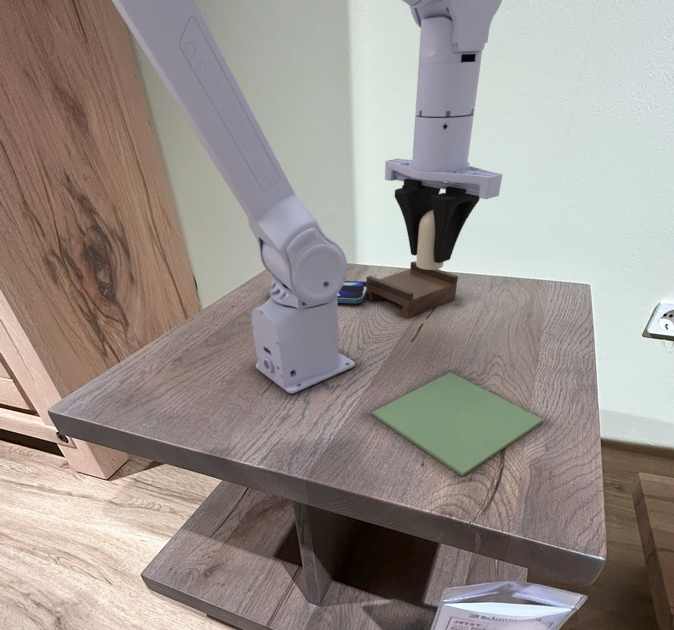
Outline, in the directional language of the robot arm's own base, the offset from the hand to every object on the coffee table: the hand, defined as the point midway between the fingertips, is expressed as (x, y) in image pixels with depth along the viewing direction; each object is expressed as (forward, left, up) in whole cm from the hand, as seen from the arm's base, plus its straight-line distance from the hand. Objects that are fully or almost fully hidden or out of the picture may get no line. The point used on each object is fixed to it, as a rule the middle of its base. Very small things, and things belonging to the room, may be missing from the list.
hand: (430, 257), depth 54 cm
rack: (+7, +9, -10) cm, 15 cm away
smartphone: (-2, +20, -10) cm, 23 cm away
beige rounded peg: (0, 0, -1) cm, 1 cm away
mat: (-11, -15, -10) cm, 21 cm away
